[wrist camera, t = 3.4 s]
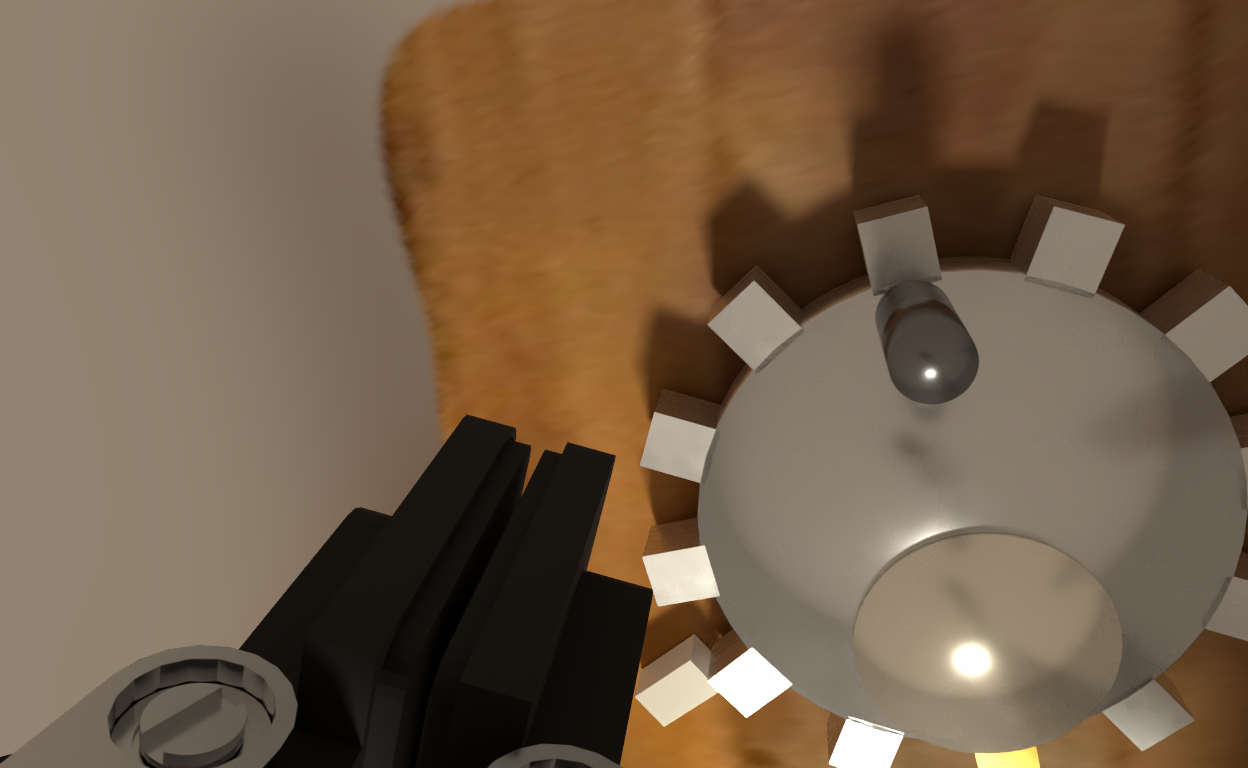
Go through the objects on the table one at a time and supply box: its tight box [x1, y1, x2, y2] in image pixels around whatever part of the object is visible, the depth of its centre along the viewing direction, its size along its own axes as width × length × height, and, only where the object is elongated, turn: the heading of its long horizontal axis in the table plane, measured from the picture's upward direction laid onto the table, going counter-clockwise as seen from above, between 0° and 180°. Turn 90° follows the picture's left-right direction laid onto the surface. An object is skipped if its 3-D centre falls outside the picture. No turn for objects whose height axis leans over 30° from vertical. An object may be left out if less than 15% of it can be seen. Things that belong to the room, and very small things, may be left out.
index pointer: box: [635, 634, 718, 727], centre depth 33 cm, size 2×2×2 cm, turn 132°
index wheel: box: [640, 194, 1248, 768], centre depth 27 cm, size 19×19×6 cm
